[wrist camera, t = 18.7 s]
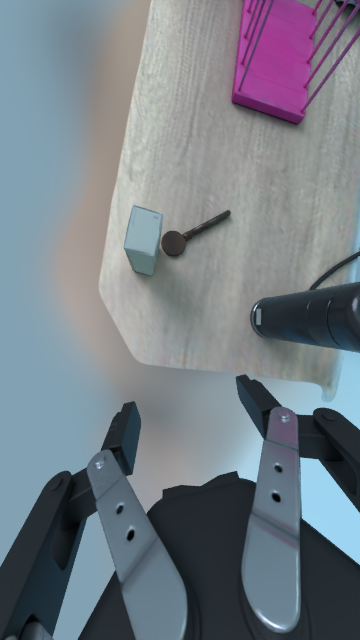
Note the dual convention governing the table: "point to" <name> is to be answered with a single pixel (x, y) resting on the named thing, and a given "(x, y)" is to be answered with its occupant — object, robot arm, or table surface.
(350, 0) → the lucky cat figurine
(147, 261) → the cosmetic box
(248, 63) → the file sorter
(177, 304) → the table surface
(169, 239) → the spoon
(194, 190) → the table surface
